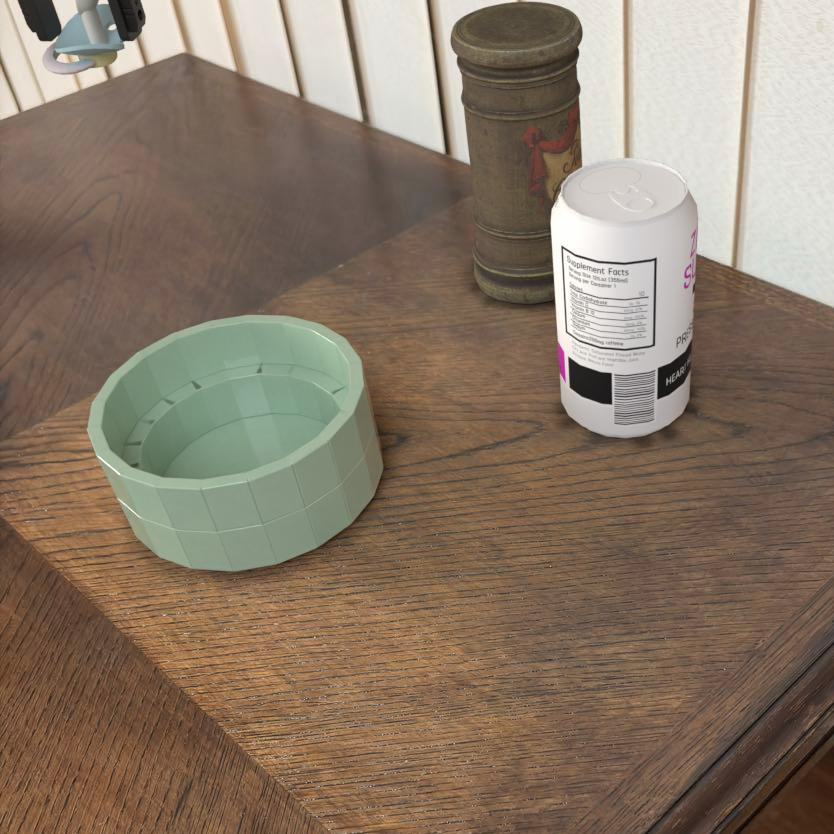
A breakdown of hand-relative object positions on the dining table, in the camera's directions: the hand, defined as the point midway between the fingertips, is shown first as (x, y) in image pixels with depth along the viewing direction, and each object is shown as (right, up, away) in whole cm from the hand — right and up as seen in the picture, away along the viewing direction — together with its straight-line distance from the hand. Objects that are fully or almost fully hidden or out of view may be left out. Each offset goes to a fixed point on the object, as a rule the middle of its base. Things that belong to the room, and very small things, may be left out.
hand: (91, 36), depth 73 cm
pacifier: (-1, -1, +1) cm, 2 cm away
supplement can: (+36, -26, -4) cm, 45 cm away
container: (+31, -15, +7) cm, 35 cm away
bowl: (+13, -31, -7) cm, 35 cm away
